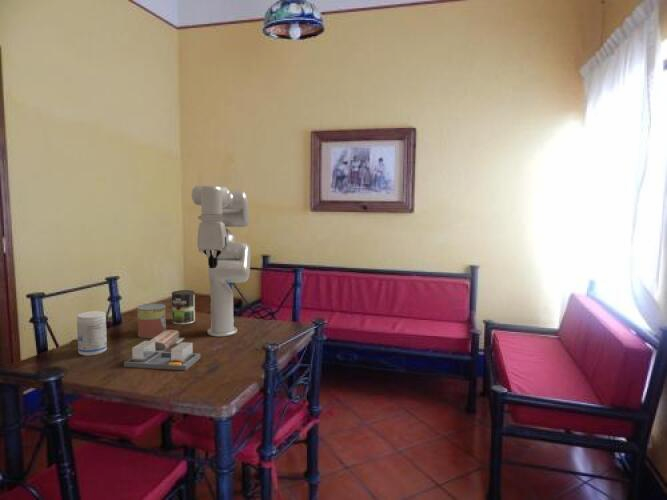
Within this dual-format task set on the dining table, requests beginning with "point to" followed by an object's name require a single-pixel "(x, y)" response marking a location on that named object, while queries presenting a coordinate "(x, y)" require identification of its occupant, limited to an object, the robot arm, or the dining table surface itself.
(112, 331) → the dining table surface
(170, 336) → the packaged product
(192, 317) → the coffee can
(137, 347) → the panel seated
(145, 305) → the canned food
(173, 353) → the white rectangular block
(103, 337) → the supplement tub
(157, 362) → the rack
